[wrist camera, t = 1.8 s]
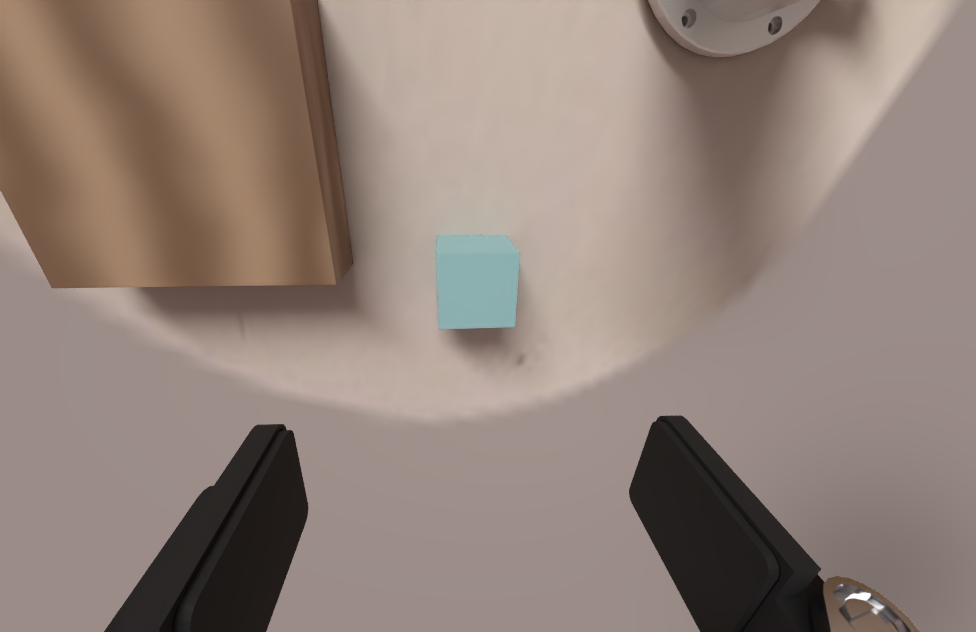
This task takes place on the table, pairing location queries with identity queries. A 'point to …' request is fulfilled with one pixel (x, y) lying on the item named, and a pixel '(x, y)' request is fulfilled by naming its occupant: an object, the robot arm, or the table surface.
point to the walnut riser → (171, 142)
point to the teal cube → (476, 281)
